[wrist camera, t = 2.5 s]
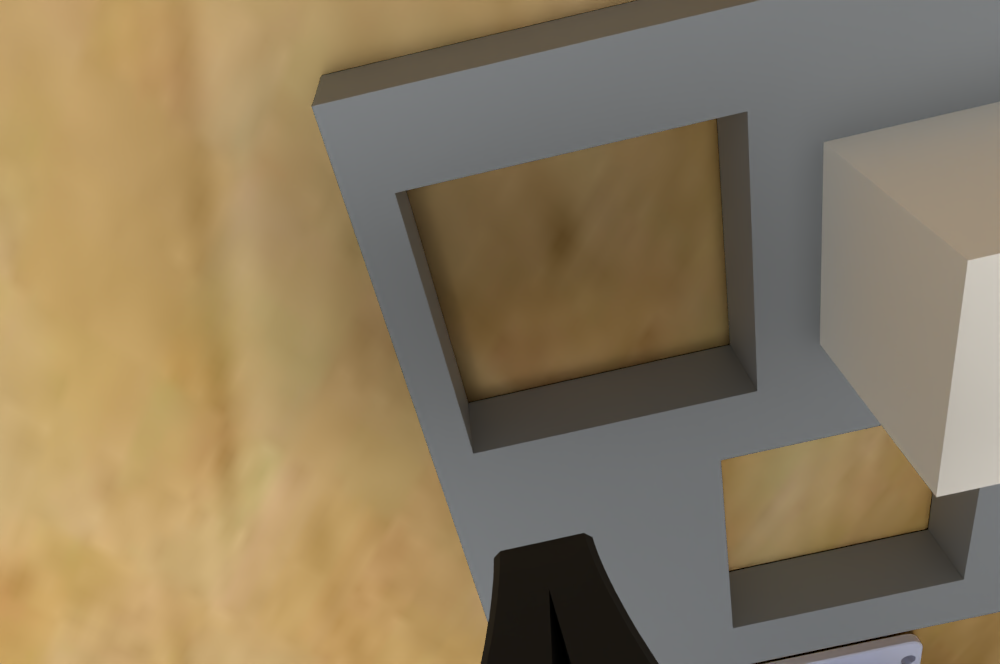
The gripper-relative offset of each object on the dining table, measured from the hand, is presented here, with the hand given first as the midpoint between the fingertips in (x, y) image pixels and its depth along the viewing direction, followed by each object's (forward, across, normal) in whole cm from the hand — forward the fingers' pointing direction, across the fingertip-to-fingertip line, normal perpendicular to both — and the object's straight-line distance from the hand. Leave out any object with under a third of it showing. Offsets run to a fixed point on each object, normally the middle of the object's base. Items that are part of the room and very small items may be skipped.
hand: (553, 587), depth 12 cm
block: (+7, -10, 0) cm, 12 cm away
